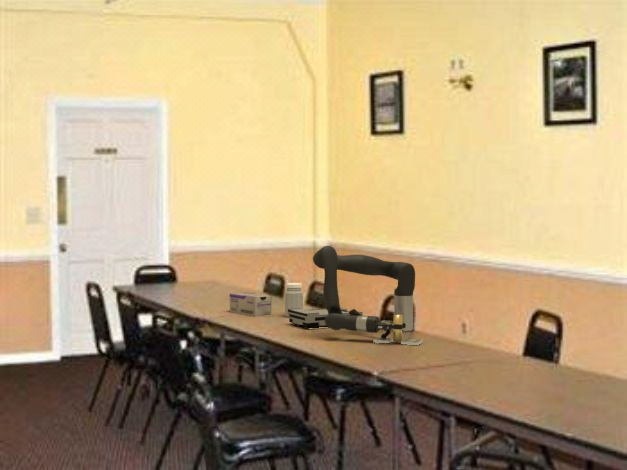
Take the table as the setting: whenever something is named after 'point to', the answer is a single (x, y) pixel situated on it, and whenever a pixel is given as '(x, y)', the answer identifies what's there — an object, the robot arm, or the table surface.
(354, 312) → the wrench
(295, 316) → the game console
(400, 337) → the link pin
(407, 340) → the metal plates
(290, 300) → the jar
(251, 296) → the surgical sutures box
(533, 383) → the table surface
